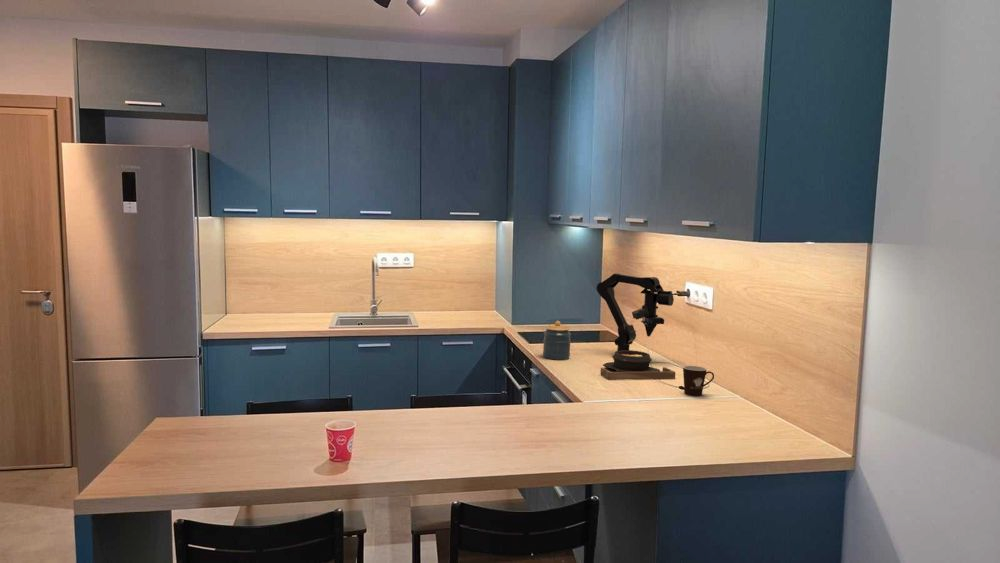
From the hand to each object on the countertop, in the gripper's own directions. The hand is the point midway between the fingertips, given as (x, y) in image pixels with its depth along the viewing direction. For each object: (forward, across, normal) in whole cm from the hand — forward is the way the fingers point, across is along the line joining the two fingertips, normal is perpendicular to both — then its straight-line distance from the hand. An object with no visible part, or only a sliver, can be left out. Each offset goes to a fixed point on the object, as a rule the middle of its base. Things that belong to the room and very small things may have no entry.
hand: (648, 336), depth 305 cm
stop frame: (+12, +31, -19) cm, 38 cm away
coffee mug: (+12, +60, -8) cm, 62 cm away
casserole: (+12, +22, -18) cm, 31 cm away
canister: (+12, -10, -42) cm, 45 cm away
